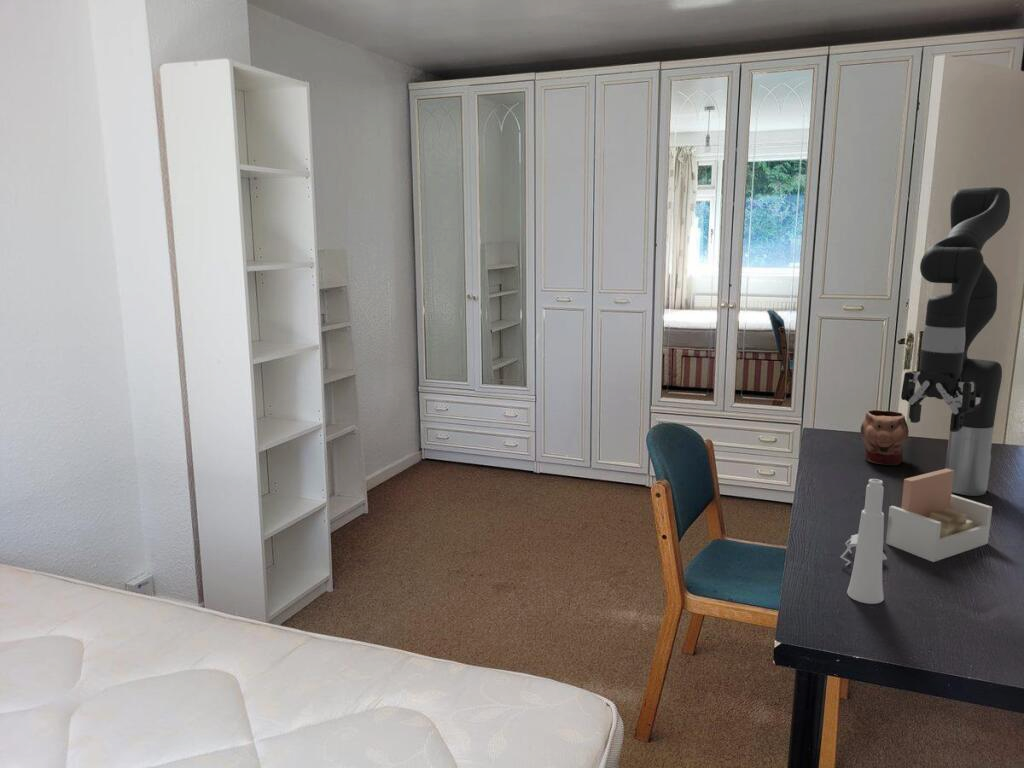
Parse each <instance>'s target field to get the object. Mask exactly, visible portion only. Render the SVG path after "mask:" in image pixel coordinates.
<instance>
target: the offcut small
mask: <svg viewBox="0 0 1024 768" xmlns="http://www.w3.org/2000/svg"><path fill="white" fill-rule="evenodd" d="M929 518H930V519H933V520H936V521H939V522H941V527H942V528H945V529H951V528H954V527H957V526H960V525H963V524H966V518H967V514H964V513H961V512H958V511H955V510H952V509H949V508H947V509H944V510H940V511H937V512H933V513H930V516H929Z"/></svg>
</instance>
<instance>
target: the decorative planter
mask: <svg viewBox="0 0 1024 768" xmlns="http://www.w3.org/2000/svg"><path fill="white" fill-rule="evenodd" d="M909 433H910V432H909V426H908V423H907V421H906V416H905V415H904V413H902V412H899V411H893V410H882V409H875V410H874V409H871V410H867V411H866V413H865V418H864V420H863V421H862V423H861V425H860V436H861V438H862V441H863V444H864V448H865V454H864V458H865V460H866V461H868V462H870V463H873V464H879V465H885V466H886V465H887V466H898V465H900V464H901V463H902V460H903V446H904V444H905V442H907V440H908V439H909Z"/></svg>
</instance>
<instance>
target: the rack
mask: <svg viewBox="0 0 1024 768" xmlns="http://www.w3.org/2000/svg"><path fill="white" fill-rule="evenodd" d="M888 508H889V509H888V517H887V518H888V519H887V530H886V536H885V538H886V539H885V544H886V545H889V546H892V547H894V548H896V549H899V550H902V551H905V552H907V553H910V554H912V555H915V556H917V557H919V558H922V559H925V560H927V561H929V562H932V563H934V562H938V561H941V560H943V559H946V558H950V557H952V556H955V555H958V554H961V553H964V552H967V551H970V550H973V549H976V548H979V547H982V546H985V545H987V544H988V543H989V537H990V528H991V523H992V522H991V520H992V514H993V512H992V511H993V506H991V505H987V504H984V503H981V502H978V501H974V500H972V499H968V498H965V497H962V496H959V495H955V494H953V493H951V501H950V509H952V510H955V511H958V512H961V513H964V514H967V518H966V519H967V520H970V521H973V527H972V529H969V530H966V531H962V532H959V533H956V534H953V535H950V536H947V537H944V538H941V539H940V531H941V522H939V521H936V520H933V519H930V518H927V517H925V516H922V515H919V514H916V513H913V512H910V511H907V510H904V509H901V507H898V506H895V505H891V506H889V507H888Z"/></svg>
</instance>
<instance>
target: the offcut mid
mask: <svg viewBox="0 0 1024 768" xmlns="http://www.w3.org/2000/svg"><path fill="white" fill-rule="evenodd" d="M972 527H973V521H970V520H967V519H966V524H963V525H960V526H957V527H954V528H951V529H945V528H942V527H941V531H940V539H941V538H944V537H947V536H950V535H953V534H956V533H959V532H962V531H966V530H969V529H972Z"/></svg>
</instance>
